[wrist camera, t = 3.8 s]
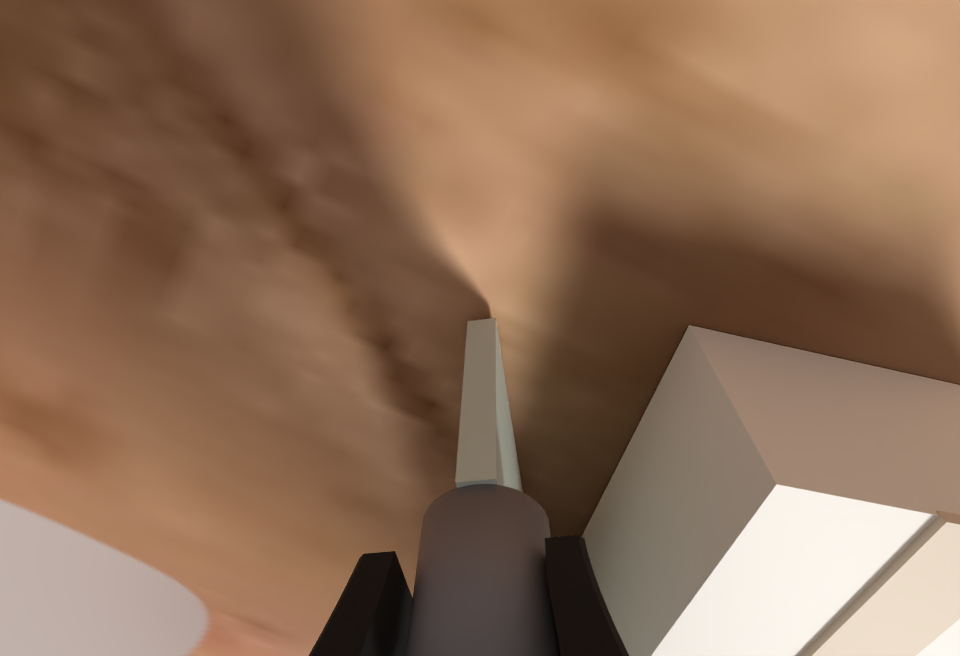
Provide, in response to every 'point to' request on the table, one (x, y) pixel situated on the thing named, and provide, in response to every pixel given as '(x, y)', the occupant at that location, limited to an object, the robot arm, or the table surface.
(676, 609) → the carton
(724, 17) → the table surface
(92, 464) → the table surface
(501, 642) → the flap
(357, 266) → the table surface
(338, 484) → the table surface
